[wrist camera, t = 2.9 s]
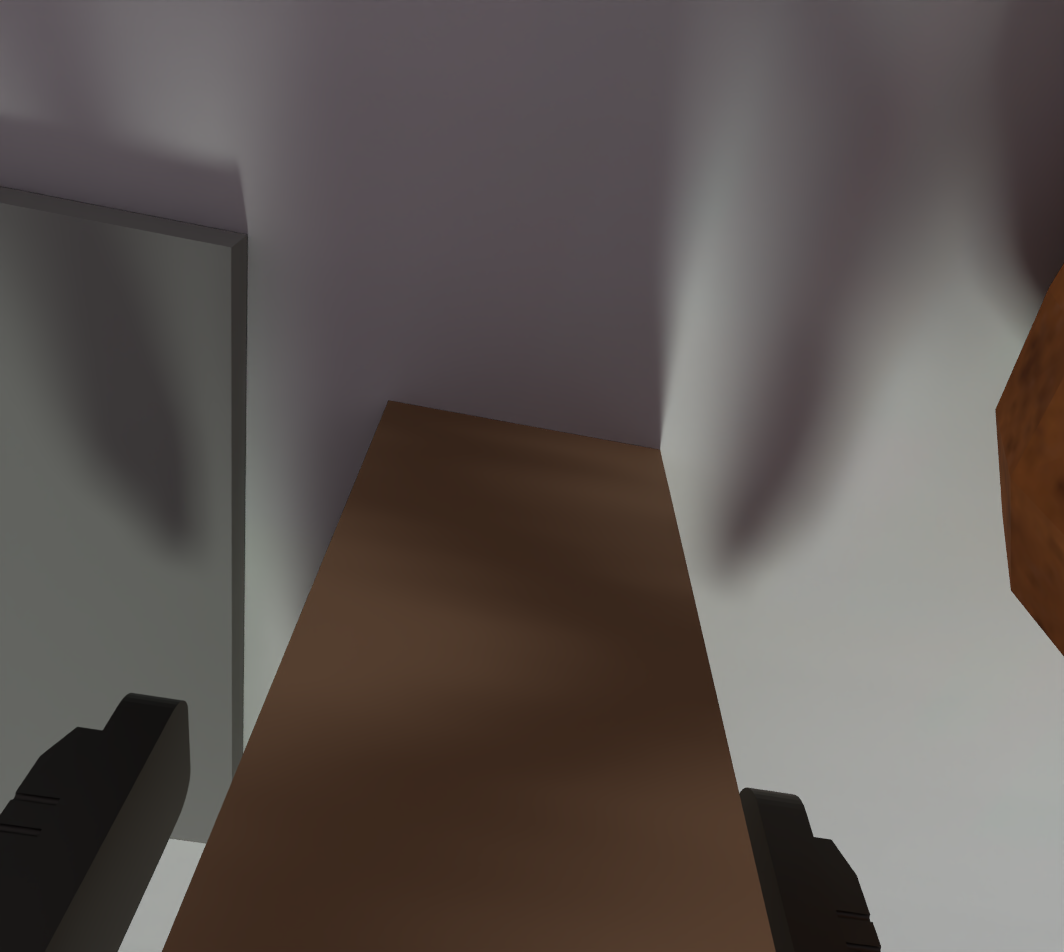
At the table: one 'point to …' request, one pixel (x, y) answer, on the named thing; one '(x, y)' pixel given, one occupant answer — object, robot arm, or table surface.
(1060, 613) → the potato
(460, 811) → the slab
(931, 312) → the table surface
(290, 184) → the table surface
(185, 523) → the mat
